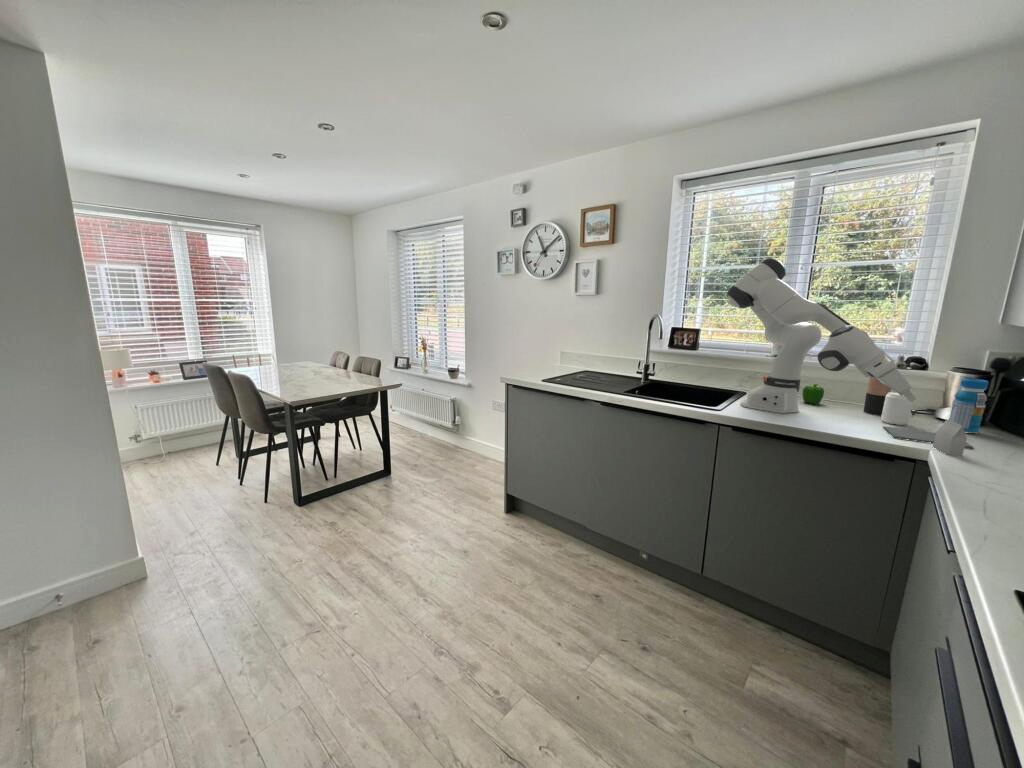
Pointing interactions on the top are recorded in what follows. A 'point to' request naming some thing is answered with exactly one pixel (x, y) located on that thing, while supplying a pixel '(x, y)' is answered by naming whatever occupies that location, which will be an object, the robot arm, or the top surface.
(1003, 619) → the top surface
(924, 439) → the charcoal mat
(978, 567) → the top surface
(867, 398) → the travel mug
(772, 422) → the top surface
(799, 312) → the robot arm
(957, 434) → the grey block
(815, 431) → the top surface
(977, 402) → the beverage bottle
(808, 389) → the bell pepper
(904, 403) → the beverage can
